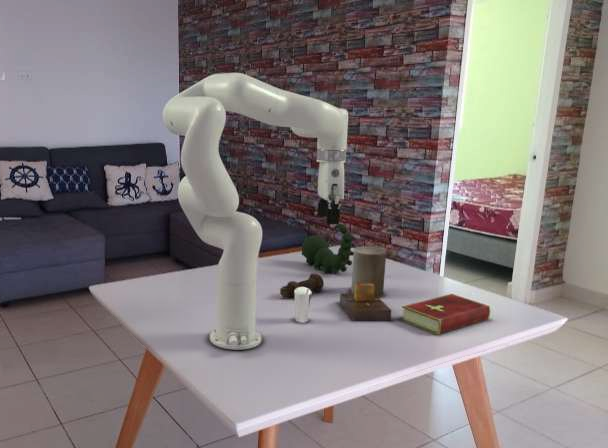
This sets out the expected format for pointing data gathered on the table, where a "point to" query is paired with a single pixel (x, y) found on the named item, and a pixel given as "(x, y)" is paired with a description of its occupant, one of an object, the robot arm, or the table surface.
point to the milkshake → (302, 304)
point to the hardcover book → (445, 313)
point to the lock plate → (365, 308)
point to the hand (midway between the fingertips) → (327, 220)
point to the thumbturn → (364, 292)
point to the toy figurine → (328, 251)
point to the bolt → (303, 285)
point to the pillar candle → (369, 267)
